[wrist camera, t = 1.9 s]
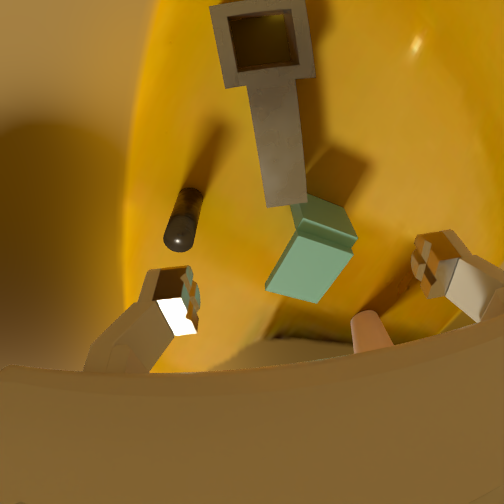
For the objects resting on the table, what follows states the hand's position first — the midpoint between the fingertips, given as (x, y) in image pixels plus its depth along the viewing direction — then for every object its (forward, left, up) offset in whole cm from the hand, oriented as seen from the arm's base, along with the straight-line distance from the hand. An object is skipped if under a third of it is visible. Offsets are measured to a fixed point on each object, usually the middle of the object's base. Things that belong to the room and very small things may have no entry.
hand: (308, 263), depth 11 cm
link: (0, -3, -16) cm, 16 cm away
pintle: (+8, +5, -16) cm, 18 cm away
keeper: (-1, +10, -16) cm, 19 cm away
